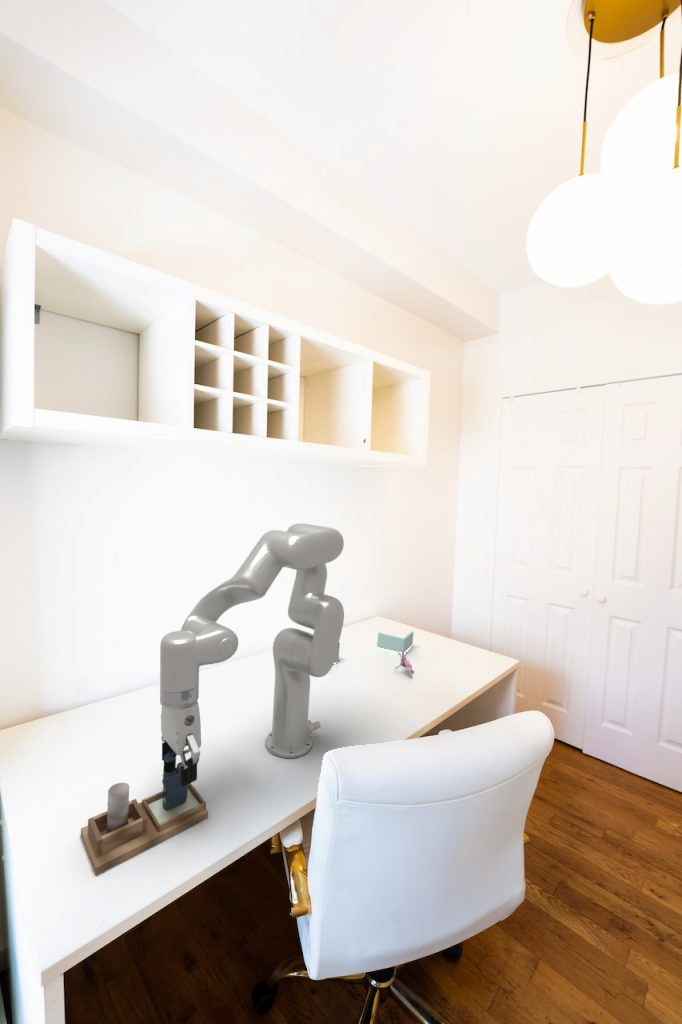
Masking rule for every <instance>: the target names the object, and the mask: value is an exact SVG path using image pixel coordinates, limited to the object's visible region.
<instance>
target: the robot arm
mask: <svg viewBox="0 0 682 1024" xmlns="http://www.w3.org/2000/svg"><path fill="white" fill-rule="evenodd" d="M344 542H345V541H344V537H343V535H342V533H341V532H340V531H339V530H337V529H335V528H333V527H328V526H321V525H315V524H310V523H309V524H308V523H294V524H292V525H291V526H289V527H288V528H287V530H286V531H285V530H279V529H278V530H275V529H274V530H269V531H267V532H265V533H264V534H263V535H262V536H261V537H260V538H259V540H258V541H257V543H256V544H255V546H254V547H253V548H252V550H251V551H250V553H249V555H248V556H247V557H246V559H244V561H243V563H242V564H241V565H240V567H239V568H238V570H237V571H236V572H235V573H234V575H233V576H232V577H231V578H229V579H228V580H226V581H224V582H222V583H220V584H219V585H218V586H216V587H215V588H213V589H212V590H210V591H209V592H208V593H206V594H205V595H204V596H202V598H201V599H200V600H199V601H198V602H197V603H196V605H195V606H194V607H193V608H192V610H191V611H190V613H189V614H188V615H187V617H186V619H185V620H184V622H183V624H182V626H181V629H180V630H176V631H175V630H174V631H171V632H169V633H167V634H165V635H164V636H163V637H162V639H160V649H159V650H160V653H159V654H160V655H159V656H160V657H159V660H160V662H159V663H160V665H159V666H160V667H159V668H160V669H159V670H160V671H159V673H160V674H159V679H160V680H159V703H160V706H161V711H160V712H161V713H160V714H161V715H160V730H161V731H160V732H161V741H162V743H161V760H162V762H164V756H165V755H166V754H168V751H170V750H172V751H173V753H175V754H176V757H177V755H178V756H180V757H179V758H180V760H181V761H180V762H182V765H183V766H182V767H181V786H185V785H187V784H189V783H191V784H192V783H193V782H196V781H197V780H198V764H199V762H200V757H201V750H200V749H201V746H202V730H201V713H200V707H199V701H198V700H199V698H200V696H199V695H200V693H199V692H200V667H202V666H205V665H206V666H207V665H208V666H209V665H214V664H219V663H223V662H225V661H228V660H229V659H230V658H233V656H234V655H235V654H236V651H237V650H238V647H239V638H238V636H237V633H235V632H234V631H233V630H232V629H230V628H229V627H227V626H224V625H222V624H219V623H217V622H218V620H219V619H220V617H222V616H223V614H224V613H226V612H227V611H228V610H230V609H231V608H233V607H235V606H239V605H241V604H244V603H249V602H254V601H256V600H260V599H262V598H263V597H265V595H266V594H267V593H268V591H269V589H270V588H271V586H272V584H273V583H274V581H275V580H276V578H277V577H278V576H279V574H280V572H281V571H282V569H283V568H287V569H290V570H295V571H296V572H295V577H294V582H293V586H292V590H291V595H290V599H289V603H288V607H287V608H288V609H287V615H288V617H289V619H290V621H291V622H293V623H295V624H297V625H300V626H303V627H305V628H308V629H310V630H313V633H311V632H307V631H304V630H302V629H298V628H295V627H288V628H284V629H282V630H280V631H279V632H278V633H277V634H276V636H275V638H274V640H273V644H272V656H273V663H274V691H273V708H272V709H273V710H272V726H271V727H272V728H271V731H270V733H268V735H267V736H266V738H265V748H266V749H267V751H268V752H269V753H271V754H272V755H274V756H276V757H279V758H283V759H284V758H285V759H287V758H288V759H292V758H293V759H294V758H298V757H301V756H304V755H305V754H307V753H308V752H310V750H311V748H312V747H313V738H312V736H311V734H312V733H313V731H317V730H319V729H320V728H321V721H320V720H316V721H315V722H312V721H311V719H309V711H310V710H309V709H310V707H309V706H310V695H311V694H310V693H311V692H310V691H311V677H314V678H323V677H325V676H326V675H328V674H329V672H330V671H331V669H332V668H333V666H334V665H333V663H334V660H335V657H336V653H337V648H338V644H339V643H340V640H341V639H340V638H341V634H342V630H343V626H344V621H345V610H344V606H343V603H342V602H341V601H340V600H339V598H337V597H335V596H332V595H328V594H325V590H326V584H327V578H328V569H327V565H326V564H328V563H331V562H333V561H334V560H336V559H337V558H339V557H340V555H341V553H343V549H344ZM186 747H188V748H187V749H185V748H186ZM188 753H190V757H189V758H188V759H187V758H186V754H188Z"/></svg>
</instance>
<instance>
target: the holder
mask: <svg viewBox="0 0 682 1024" xmlns="http://www.w3.org/2000/svg"><path fill="white" fill-rule="evenodd" d="M162 804H163V790H162V791H160V792H156V793H155V794H153V795H150V796H148V797H145V798H143V799H141V802H138V801H137V798H135V799H132V800H130V785H129V784H128V783H127V782H118V783H115V784H113V785H112V786H110V787H109V788H108V790H107V810H106V811H104V812H102V813H100V814H97V815H95V816H92V817H90V818H88V820H87V825H85V826H84V827H81V828H80V838H81V841H82V843H83V847H84V848H85V851H86V853H87V856H88V859H89V862H90V864H91V867H92V870H93V872H94V875H95V876H99V875H100V874H103V873H105V872H106V871H108V870H111V869H112V868H114V867H116V866H118V865H119V864H121V863H124V862H126V861H127V860H129V859H131V858H133V857H135V856H138V855H139V854H141V853H143V852H146V851H147V850H149V849H151V848H153V847H155V846H157V845H159V844H161V843H162V842H164V841H166V840H168V839H170V838H173V837H175V836H176V835H178V834H180V833H183V832H184V831H186V830H188V829H190V828H192V827H194V826H195V825H197V824H199V823H201V822H204V821H205V820H208V819H209V810H208V809H207V801H205V799H204V798H203V797H202V795H201V794H200V793H199V792H198V790H197V789H196V788H195V786H194V785H193V784H192V783H189V784H188V792H187V799H186V802H185V803H183V804H181V805H179V806H177V807H174V808H172V809H170V810H167V811H166V810H165V809H163V805H162Z"/></svg>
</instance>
